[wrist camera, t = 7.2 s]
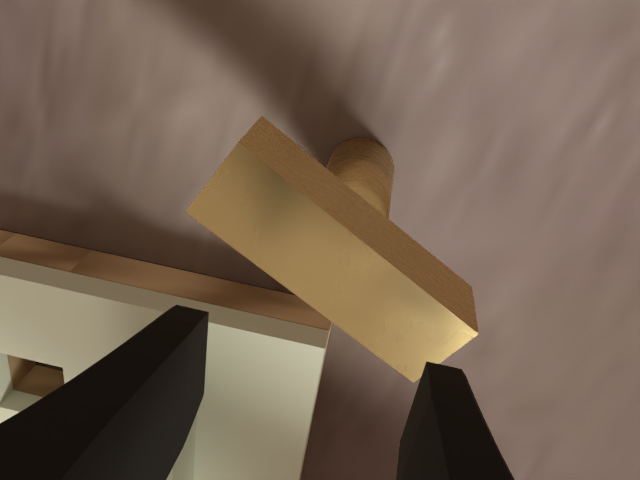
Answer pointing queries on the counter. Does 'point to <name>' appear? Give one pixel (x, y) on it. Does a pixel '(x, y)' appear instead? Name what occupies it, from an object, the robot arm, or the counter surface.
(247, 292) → the base
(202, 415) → the cover
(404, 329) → the tan t-shaped block
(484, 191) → the counter surface
